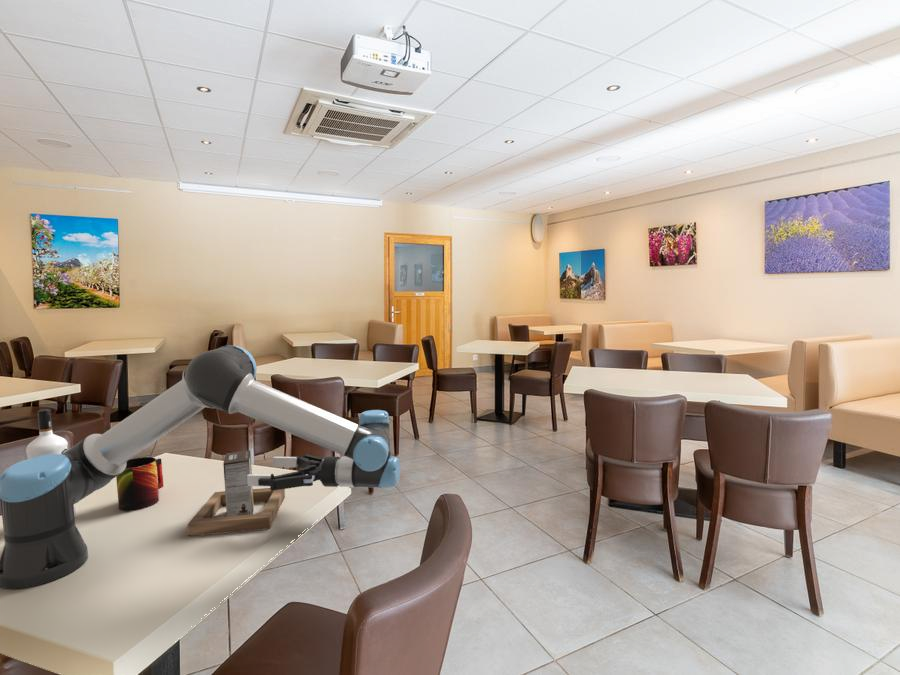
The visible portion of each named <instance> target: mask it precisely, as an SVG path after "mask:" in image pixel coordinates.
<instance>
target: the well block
mask: <svg viewBox="0 0 900 675" xmlns="http://www.w3.org/2000/svg"><path fill="white" fill-rule="evenodd" d="M285 498H286V489H281V490H274V491H271V490H270V487H264V488H253V504H254V503H266V504H265V505H264V508H263V510H262V511H261V513H253V514H250V515H238V516H227V515H226V516H217V517H215V516H216V514H217V513H218V511H219V510H220V509H221V507H223V506H226V496H225V491H224V490H222V491H214V492H213V494H212V495H211V496H210V497H209V498H208V499H207V501H206V502H205V503H204V504H203V505H202V507H201V508H200V509H199V510H198V511H197V512H196V513H195V514H194V516H193V517H192V518H191V519H190V521H189V522H188V523H187V532H188V533H187V534H188V535H192V536H201V535H202V534H204V535H214V534H213V533H215V534H224V533H225V532H227V533H235V532H238V533H239V532H248V531H258V530H259V531H261V530H270V529H271V527H272V525H273V523H274V521H275V519H276V517H277V515H278V513H279V511H280V509H281V507H280V506H282V505H283V502H284V500H285ZM267 501H268V502H267ZM279 508H280V509H279ZM216 512H217V513H216ZM213 516H214V517H213Z"/></svg>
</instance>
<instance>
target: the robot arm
mask: <svg viewBox="0 0 900 675" xmlns="http://www.w3.org/2000/svg"><path fill="white" fill-rule="evenodd" d="M186 367H187V368H185V369H184V370H183V371H182V378H181V380H180V381H179V382H176V383H175V384H174V385H173V386H171V387H169V388H168V389H167V390H165V391H163V392H162V393H161V394H159V395H157V396H156V397H155V398H153V399H152V400H150V401H149V402H148V403H146V404H144V405H143V406H142V407H140V408H139V409H137V410H135V412H132V414H130V415H128V416H127V417H125V418H124V419H123V420H121V421H119V422H118V423H117V424H115V425H114V426H112V427H111V428H109V429H108V430H106V431H105V432H104V433H93V434H90V435H88V436H87V437H85V438H83V439H82V440H80V441H79V442H78V443H76V444H74V445H73V446H72V447H70V448H69V449H67V451H65V452H64V453H62V454H48V455H41V456H37V457H33V458H31V459H28V458H27V459H28V460H27V459H23V460H21V461H18V462H17V463H16V462H15V463H14V464H12V465H11V466H8V467H7V468H6V469H5V470H3V472H2V473H1V474H0V510H1V519H2V527H3V537H4V545H3V548H2V552H1V555H0V588H2V589H8V588H10V589H14V590H15V589H25V588H29V587H30V588H31V587H34V586H38V585H39V586H40V585H43V584H45V583H46V584H47V583H49V582H52V581H55V580H57V579H60V578H62V577H64V576H66V575H69V574H71V573H72V572H75V571H76V570H78V569H79V568H80V567H81V566H84V564H85V563H86V562H87V560H88V558H89V550H88V546H87V543H86V542H85V541H84V538H83V536H82V534H81V533H80V531H79V529H78V527H77V526H76V520H75V518H76V515H74V507H75V505H76V504H77V503H79V502H80V501H81V500H83V499H86V497H88V496H89V495H92V494H93V493H95V491H97V490H98V491H99V490H100V489H102V488H103V487H105V486H107V485H108V484H109V483H110V482H111V481H112V480H113V479H114V478H115V479H116V476H117V475H119V474H120V473H122V472H123V471H124V470H125V468H126V465H127V461H128V460H130V459H133V458H135V456H137V455H139V454H140V453H141V452H143V451H144V450H145V449H147V448H149V447H150V446H152V445H153V444H155V442H157V441H159V440H160V439H162V438H163V437H164V436H167V434H168V433H170V432H172V431H174V430H175V429H176V428H178V427H179V426H180V425H182V424H183V423H185V422H186V421H187V420H189V419H190V418H192V417H193V416H195V415H197V414H198V413H199V412H200V411H202V410H204V409H205V408H209V409H217V410H220V411H223V412H225V413H228V414H229V415H232V414H235V413H241V414H242V415H245V416H247V417H249V418H251V419H255V420H256V421H259V422H262V423H265V424H266V425H269V426H272V427H274V428H277V429H279V430H281V431H284V432H286V433H288V434H291V435H293V436H295V437H298V438H300V439H303V440H305V441H308V442H310V443H313V444H315V445H318V446H320V447H323V448H325V449H327V450H329V451H331V452H334V453H337V454H339V455H342V456H341V457H340V456H326V457H321V456H317V455H311V454H308V453H303V454H302V455H299V456H273V457H272V465H273V466H272V467H273V468H298V470H296V471H293V472H289V473H283V474H279V475H275V474H273V473H271V474H248V475H247V483H248V486H252V487H269V488H270V490H271V491H274V490H281V489H285V490H287V489H292V488H300V487H311V486H313V485H314V484H313V483H314V482H317V481H320V483H321V484H322V486H323V487H326V488H327V487H330V488H331V487H333V488H335V487H336V488H337V487H341V488H342V487H343V488H344V487H345V488H346V487H347V488H349V489H353V488H378V489H384V488H386V489H387V488H394V487H396V486H397V485H398V483H399V482H400V478H401V464H400V459H399V458H398V456H397V457H396V456H393V455H392V453H391V442H390V441H391V440H390V439H391V438H390V437H391V435H390V432H391V430H390V429H391V428H390V424H391V423H390V417H389V413H388V411H386V410H382V409H371V410H370V409H369V410H365V411H363V412H361V413H360V414H359V417H358V419H359V420H358V423H355V422H353V421H351V420H348V419H346V418H344V417H342V416H339V415H337V414H334V413H332V412H329V411H327V410H325V409H323V408H320V407H318V406H315V405H313V404H311V403H309V402H308V401H307V402H306V401H304V400H302V399H300V398H297V397H295V396H292V395H290V394H287V393H285V392H283V391H281V390H278V389H276V388H273V387H271V386H269V385H267V384H264V383H262V382H260V381H257V380H255V378H256V375H257V368H258V367H257V362H256V360H255V358H254V356H253V354H251V353H250V352H249V351H248V350H247V349H245V348H244V347H242V346H238V345H231V344H228V345H223V346H220V347H218V348H215V349H211V350H207V351H203V352H201V353H199V354H197V355H196V356H194V358H192V359H191V360H190V362H189V364H188V365H187V366H186Z"/></svg>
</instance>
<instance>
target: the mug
mask: <svg viewBox="0 0 900 675" xmlns="http://www.w3.org/2000/svg"><path fill="white" fill-rule="evenodd" d="M115 480H116V491H117V501H118V509H119V510H120V511H122V512H134V511H140V510H144V509H147V508H150V507H152V506H154V505H156V504H158V502H159V501H160V499H159V498H160V496H159V490H160V489H162V488H164V476H163V464H162V458H157V459H156V458H155V457H149V456H145V457H136V458H135V457H134V458H131V459H130V460H128V461H127V465H126V468H125V470H124V471H123V472H122V473H120V474H119V475H117V476H116V477H115Z"/></svg>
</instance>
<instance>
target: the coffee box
mask: <svg viewBox="0 0 900 675" xmlns="http://www.w3.org/2000/svg"><path fill="white" fill-rule="evenodd" d="M251 454H252V453H251V450H250V449H249V450H242V451H234V452H227V453H225V454H224V460H223V464H222V465H223V479H224V490H225V496H226V505H225V509H226V516H238V515H250V514H254V509H255V508H254V506H255V505H254V503H253V489H254V488H253V487H254V486H248V483H247V475H248V474H252V472H253V471H252V470H253V469H252V457H251V456H252V455H251Z"/></svg>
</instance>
